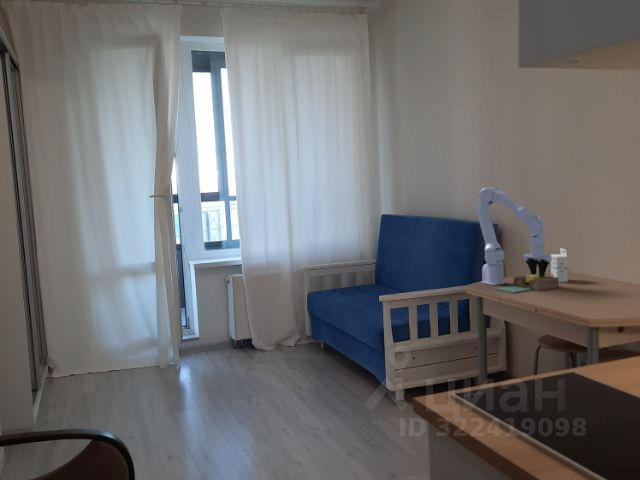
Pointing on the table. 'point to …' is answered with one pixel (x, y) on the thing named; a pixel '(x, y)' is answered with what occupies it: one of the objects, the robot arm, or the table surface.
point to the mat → (513, 289)
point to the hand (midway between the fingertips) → (537, 276)
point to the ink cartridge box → (559, 266)
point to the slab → (533, 277)
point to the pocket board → (536, 282)
